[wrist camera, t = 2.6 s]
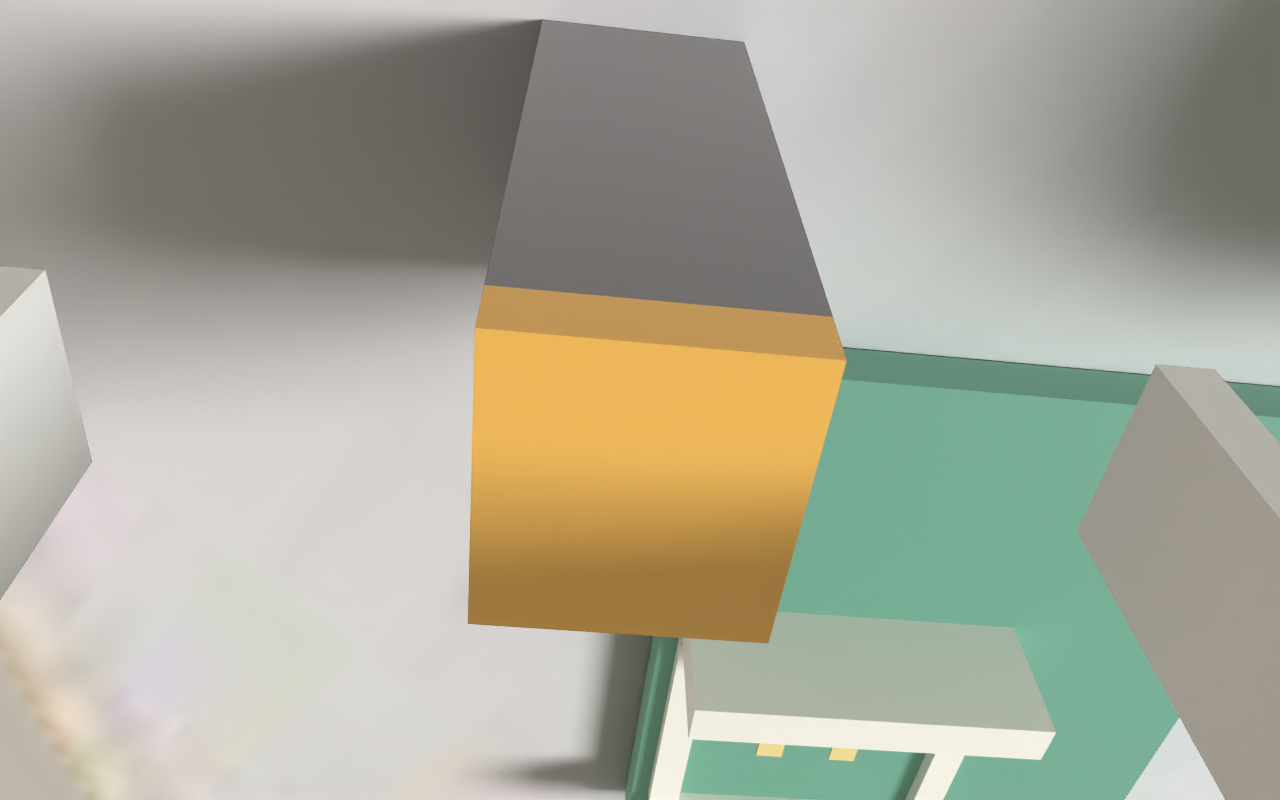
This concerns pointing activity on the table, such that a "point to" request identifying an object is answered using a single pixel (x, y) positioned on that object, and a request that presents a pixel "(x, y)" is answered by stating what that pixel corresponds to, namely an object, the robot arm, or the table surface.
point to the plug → (645, 350)
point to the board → (930, 608)
